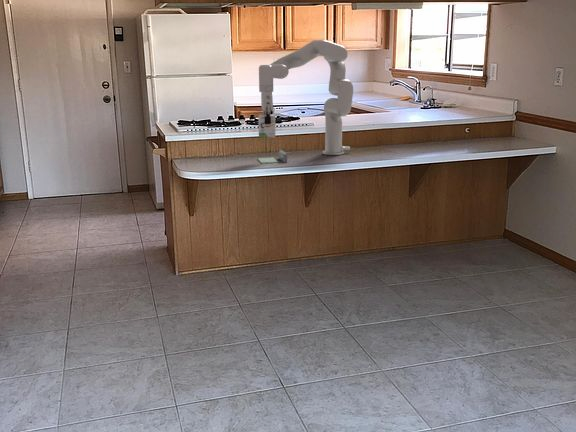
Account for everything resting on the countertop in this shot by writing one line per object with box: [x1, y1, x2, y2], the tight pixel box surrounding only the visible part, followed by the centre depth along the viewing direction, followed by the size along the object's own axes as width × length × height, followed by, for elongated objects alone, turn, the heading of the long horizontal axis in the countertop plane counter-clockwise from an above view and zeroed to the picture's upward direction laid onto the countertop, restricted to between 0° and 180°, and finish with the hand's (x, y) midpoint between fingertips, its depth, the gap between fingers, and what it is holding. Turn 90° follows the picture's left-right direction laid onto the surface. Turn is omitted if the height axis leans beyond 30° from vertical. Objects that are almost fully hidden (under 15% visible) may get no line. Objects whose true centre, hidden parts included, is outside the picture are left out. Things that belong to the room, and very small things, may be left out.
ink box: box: [257, 113, 276, 139], centre depth 324 cm, size 8×5×12 cm, turn 101°
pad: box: [257, 157, 279, 164], centre depth 330 cm, size 9×13×1 cm
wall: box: [278, 149, 288, 163], centre depth 331 cm, size 2×13×4 cm, turn 12°
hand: (266, 123), depth 324 cm, fingers closed on ink box, 5 cm apart
